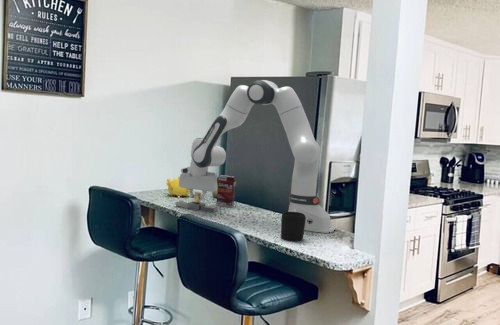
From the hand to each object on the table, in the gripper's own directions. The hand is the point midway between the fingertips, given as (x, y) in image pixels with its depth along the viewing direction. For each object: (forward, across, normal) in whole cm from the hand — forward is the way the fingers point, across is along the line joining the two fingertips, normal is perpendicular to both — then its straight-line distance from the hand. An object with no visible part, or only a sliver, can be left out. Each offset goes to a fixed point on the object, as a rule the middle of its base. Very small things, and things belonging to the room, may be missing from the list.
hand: (197, 198), depth 243 cm
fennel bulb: (+5, +11, -41) cm, 43 cm away
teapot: (+5, +29, -26) cm, 39 cm away
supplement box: (+5, -6, -19) cm, 21 cm away
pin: (+5, 0, 0) cm, 5 cm away
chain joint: (+5, 0, 0) cm, 5 cm away
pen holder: (+5, -60, +26) cm, 66 cm away
